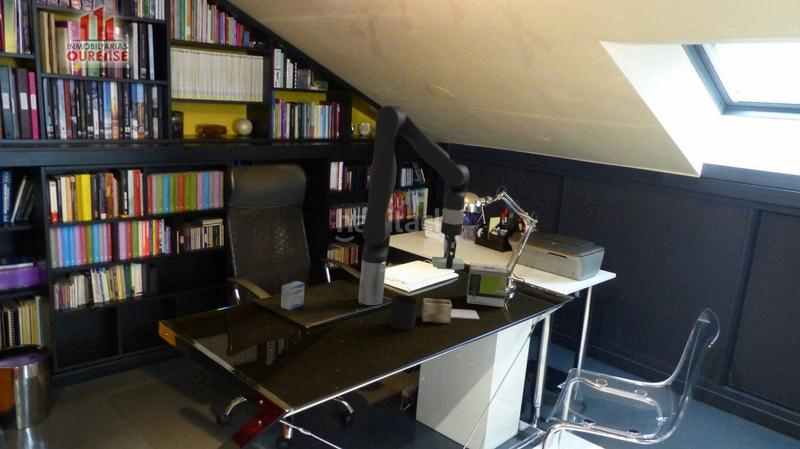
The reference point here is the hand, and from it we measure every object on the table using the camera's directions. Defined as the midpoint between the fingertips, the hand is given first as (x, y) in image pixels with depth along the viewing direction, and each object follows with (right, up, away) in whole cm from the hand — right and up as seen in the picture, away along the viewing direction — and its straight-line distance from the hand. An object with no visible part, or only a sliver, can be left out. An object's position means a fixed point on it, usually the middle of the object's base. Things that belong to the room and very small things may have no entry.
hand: (447, 265), depth 219 cm
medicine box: (-57, -16, +3) cm, 59 cm away
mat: (+6, -20, +11) cm, 23 cm away
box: (-4, -20, +4) cm, 21 cm away
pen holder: (-17, -22, -5) cm, 28 cm away
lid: (0, 0, 0) cm, 0 cm away
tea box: (+17, -17, +28) cm, 37 cm away
